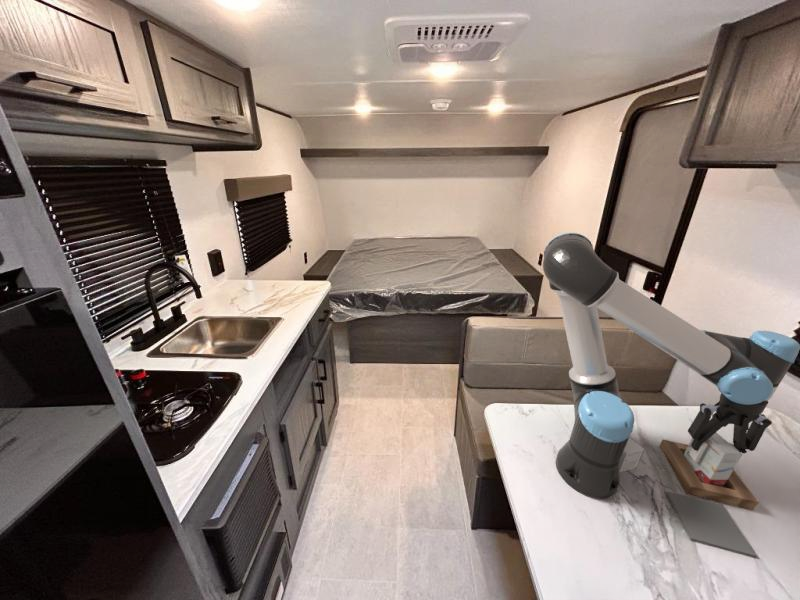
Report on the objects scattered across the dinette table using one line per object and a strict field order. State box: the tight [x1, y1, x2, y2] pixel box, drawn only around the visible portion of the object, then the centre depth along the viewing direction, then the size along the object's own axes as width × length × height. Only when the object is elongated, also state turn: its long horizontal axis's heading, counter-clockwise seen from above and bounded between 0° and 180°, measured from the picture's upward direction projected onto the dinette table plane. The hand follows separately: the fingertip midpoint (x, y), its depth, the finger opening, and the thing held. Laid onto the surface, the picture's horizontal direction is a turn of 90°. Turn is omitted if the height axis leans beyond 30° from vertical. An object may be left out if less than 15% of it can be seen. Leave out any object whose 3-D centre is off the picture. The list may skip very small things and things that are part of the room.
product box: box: [618, 437, 644, 473], centre depth 90 cm, size 6×6×7 cm
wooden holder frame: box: [659, 439, 760, 511], centre depth 87 cm, size 14×16×3 cm
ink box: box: [684, 432, 743, 487], centre depth 85 cm, size 9×5×12 cm, turn 179°
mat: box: [665, 490, 758, 558], centre depth 76 cm, size 12×12×1 cm
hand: (707, 461), depth 86 cm, fingers closed on ink box, 6 cm apart
